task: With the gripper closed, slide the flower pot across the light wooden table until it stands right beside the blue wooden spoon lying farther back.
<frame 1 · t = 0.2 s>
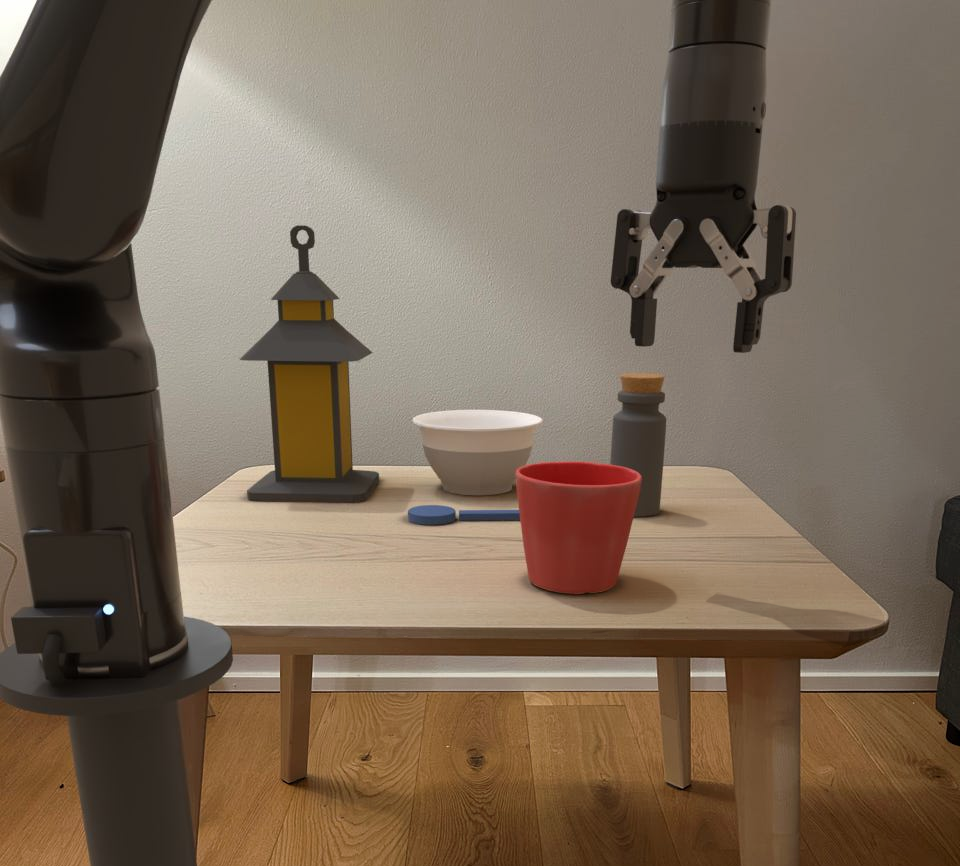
hand: (692, 349, 78), 20 cm above the table, tool pointing down, fingers open, 8 cm apart
flower pot: (573, 583, 86), on the table
spoon: (477, 518, 107), on the table
lantern: (316, 490, 120), on the table
bottle: (633, 512, 111), on the table
bowl: (477, 489, 122), on the table
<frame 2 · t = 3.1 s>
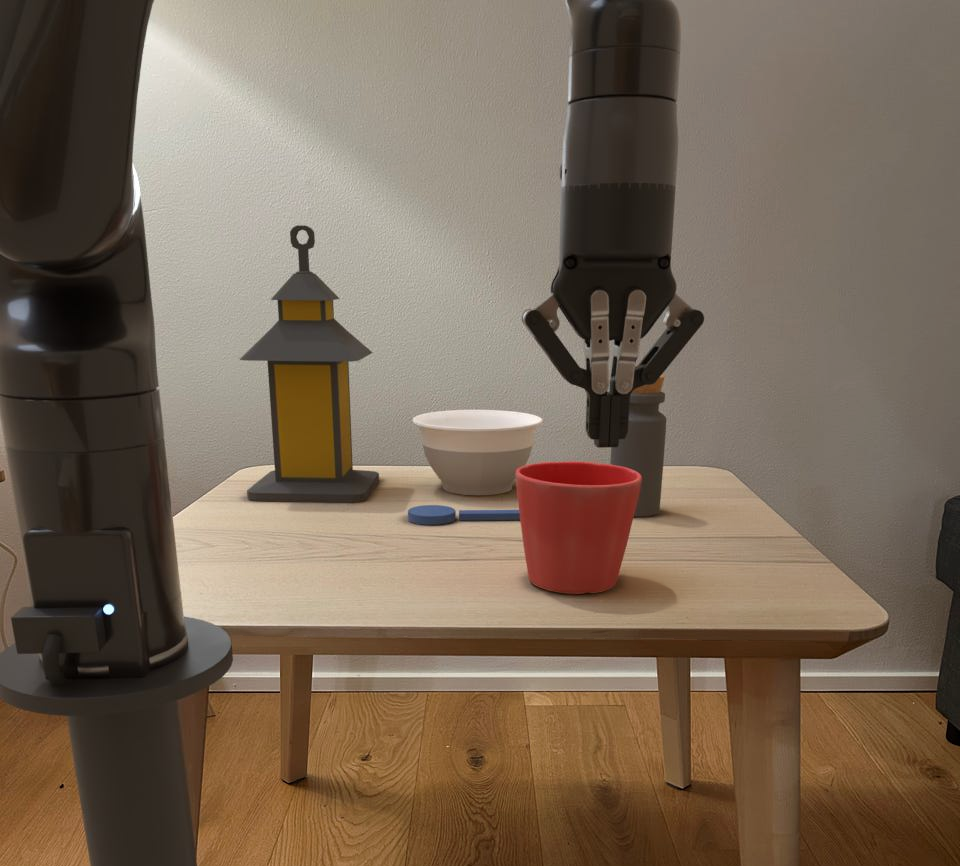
hand: (606, 445, 70), 14 cm above the table, tool pointing down, fingers closed
nothing on the table moved.
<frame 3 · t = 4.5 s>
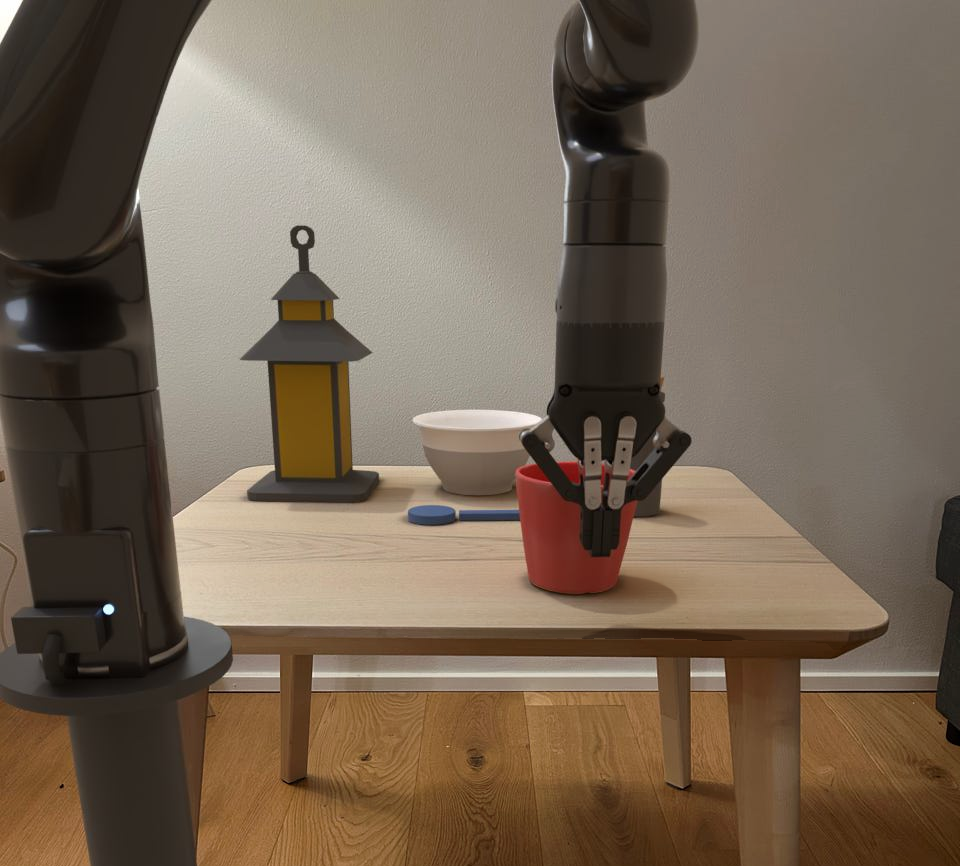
hand: (598, 554, 74), 5 cm above the table, tool pointing down, fingers closed
nothing on the table moved.
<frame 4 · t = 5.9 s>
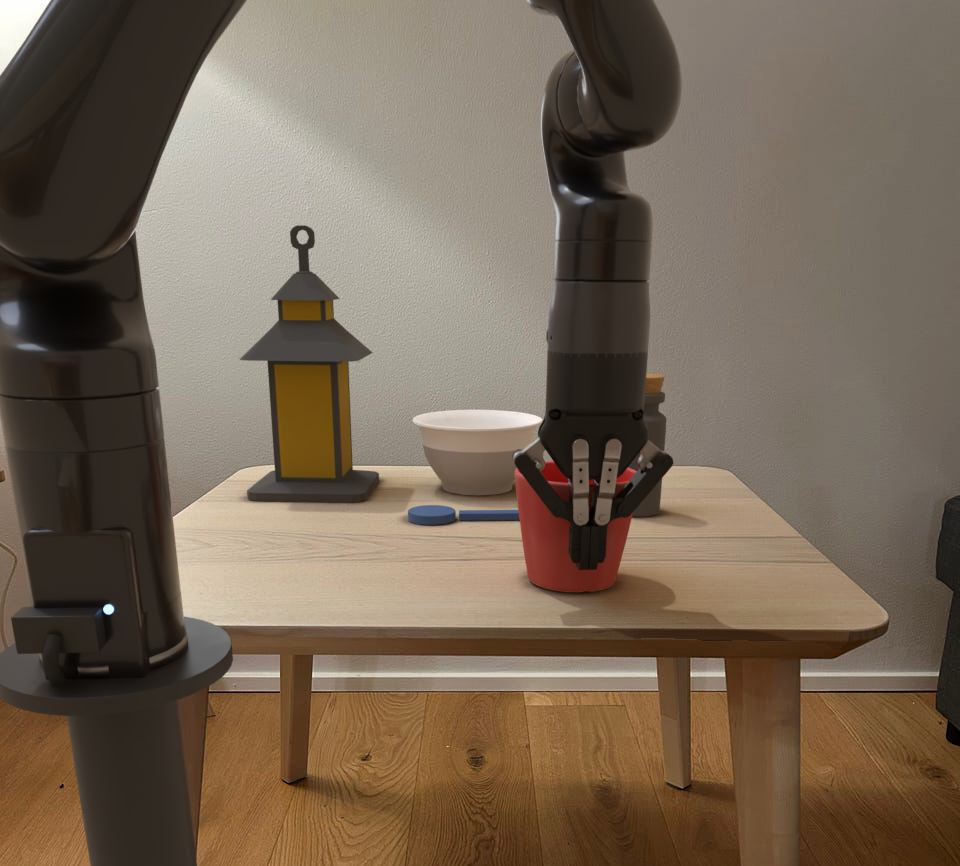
hand: (586, 567, 79), 3 cm above the table, tool pointing down, fingers closed
flower pot: (572, 582, 86), on the table, touching gripper
everything else where it was.
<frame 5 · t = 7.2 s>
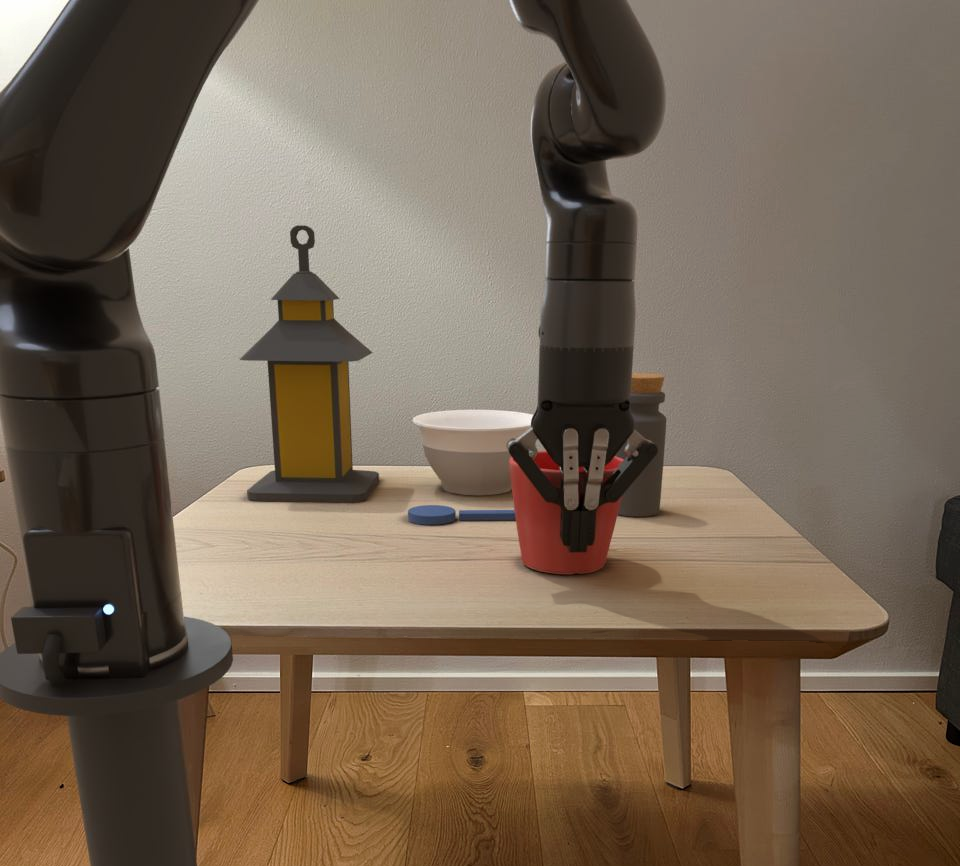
hand: (576, 550, 84), 3 cm above the table, tool pointing down, fingers closed
flower pot: (564, 565, 91), on the table, touching gripper
everything else where it was.
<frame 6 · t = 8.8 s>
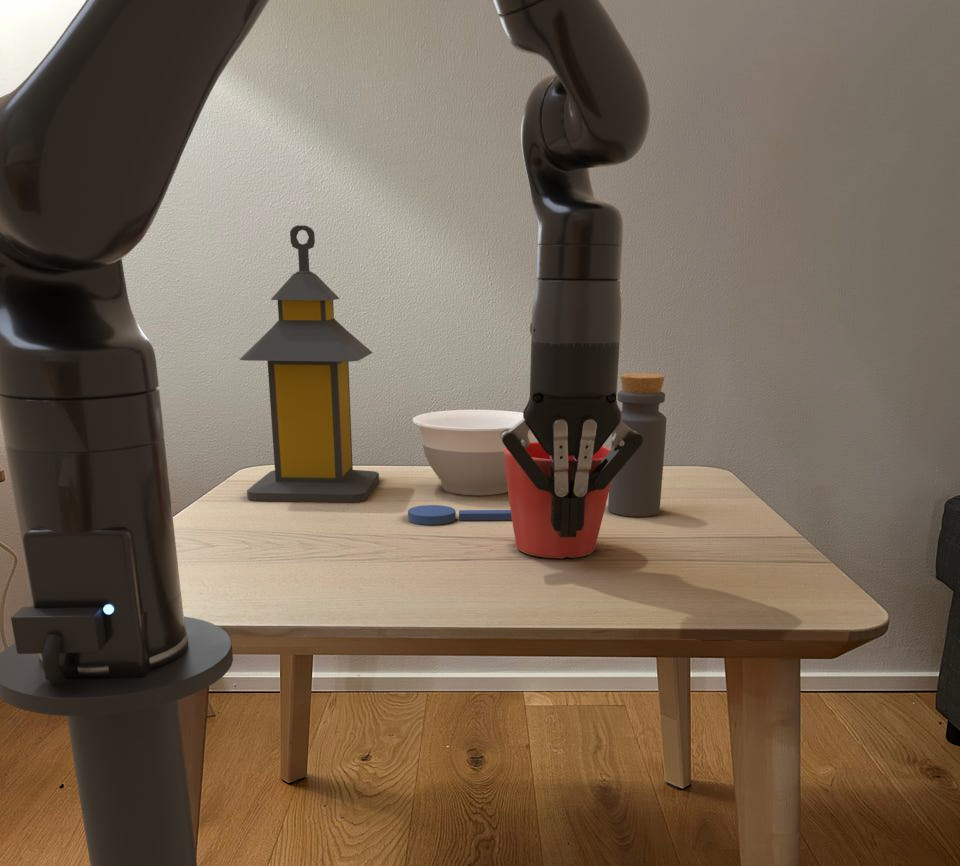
hand: (567, 535, 89), 3 cm above the table, tool pointing down, fingers closed
flower pot: (556, 550, 96), on the table, touching gripper
everything else where it was.
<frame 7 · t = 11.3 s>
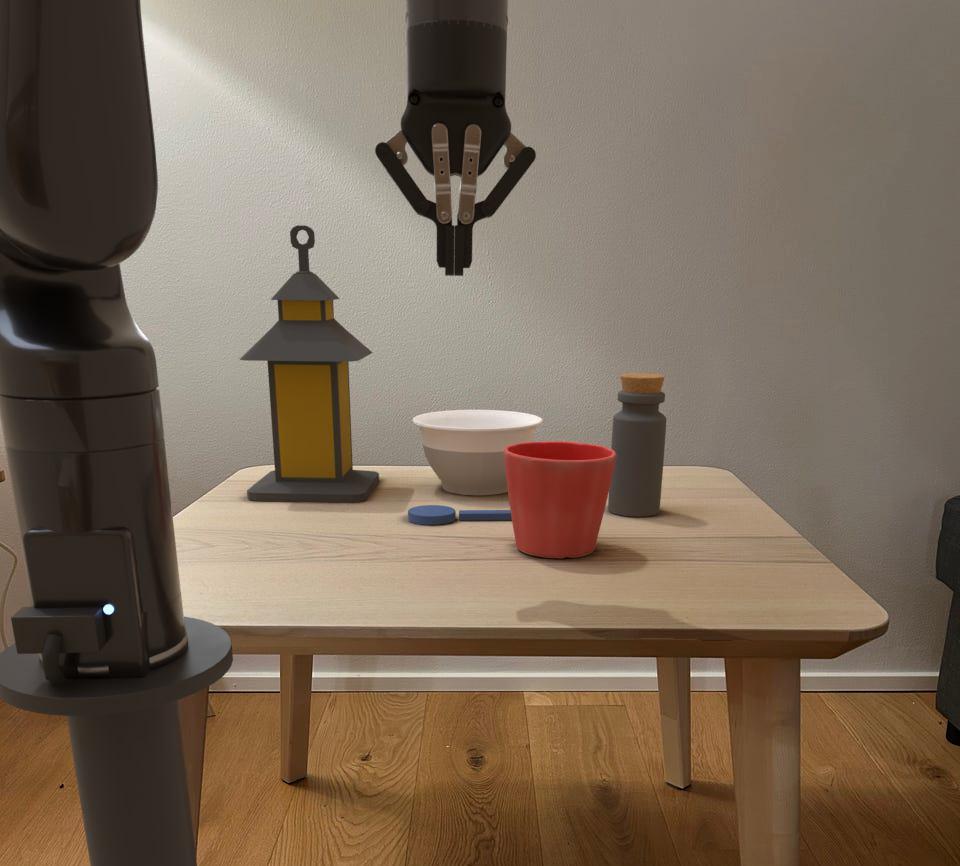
hand: (454, 275, 78), 25 cm above the table, tool pointing down, fingers closed
flower pot: (555, 550, 96), on the table
everything else where it was.
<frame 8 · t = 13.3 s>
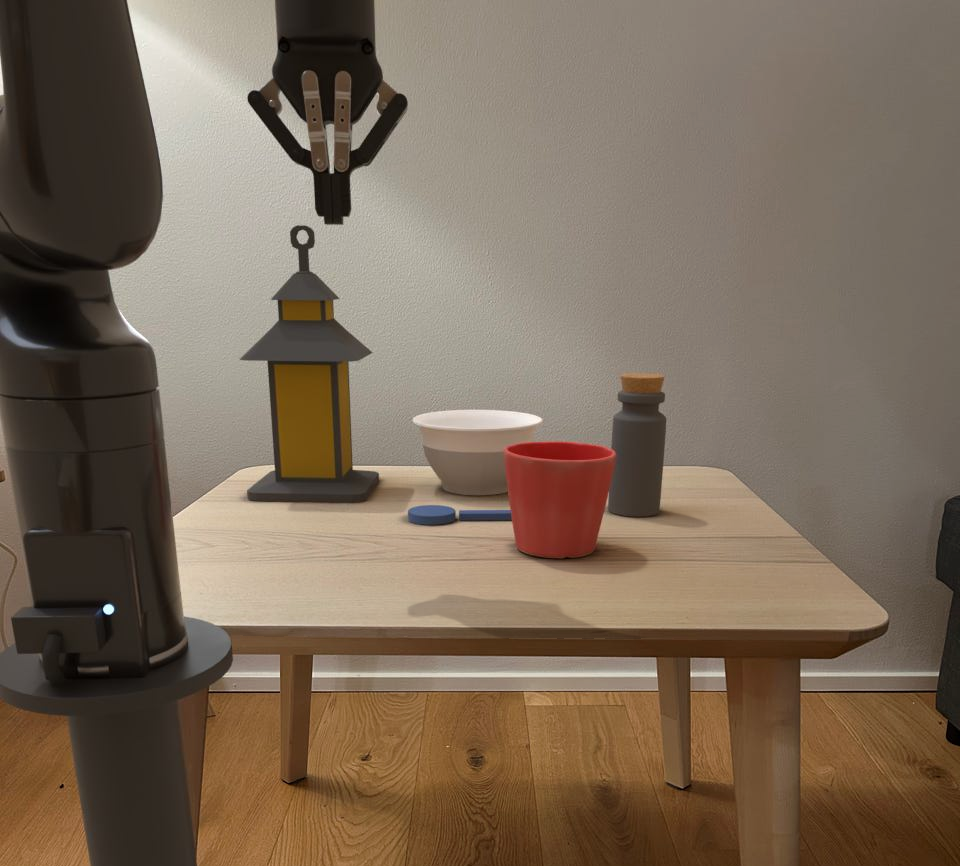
hand: (334, 224, 79), 29 cm above the table, tool pointing down, fingers closed
nothing on the table moved.
at the end: flower pot inside the target area on the table beside the spoon (2.8 cm from its centre), on the table; flower pot tilted 0° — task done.
